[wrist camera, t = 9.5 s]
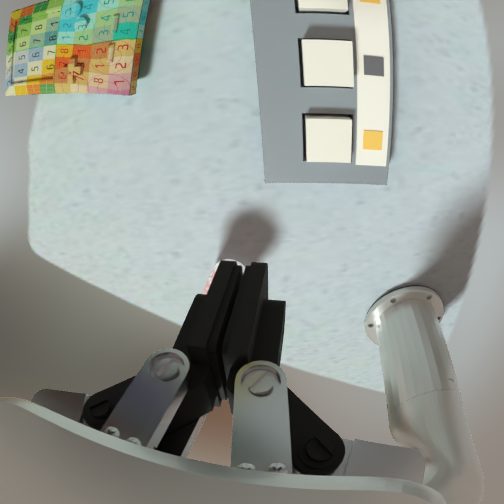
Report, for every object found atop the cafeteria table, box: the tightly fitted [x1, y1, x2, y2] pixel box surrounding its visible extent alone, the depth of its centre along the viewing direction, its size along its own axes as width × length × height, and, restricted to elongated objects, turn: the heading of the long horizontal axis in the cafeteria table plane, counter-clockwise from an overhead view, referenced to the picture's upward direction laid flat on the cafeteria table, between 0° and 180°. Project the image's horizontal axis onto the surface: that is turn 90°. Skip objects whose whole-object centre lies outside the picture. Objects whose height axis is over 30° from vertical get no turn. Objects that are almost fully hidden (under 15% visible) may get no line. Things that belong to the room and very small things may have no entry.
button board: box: [250, 0, 393, 185], centre depth 23 cm, size 12×23×3 cm, turn 5°
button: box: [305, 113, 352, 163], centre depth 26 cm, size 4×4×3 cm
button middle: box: [301, 39, 354, 87], centre depth 21 cm, size 4×4×3 cm
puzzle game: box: [6, 0, 150, 96], centre depth 22 cm, size 12×5×20 cm
